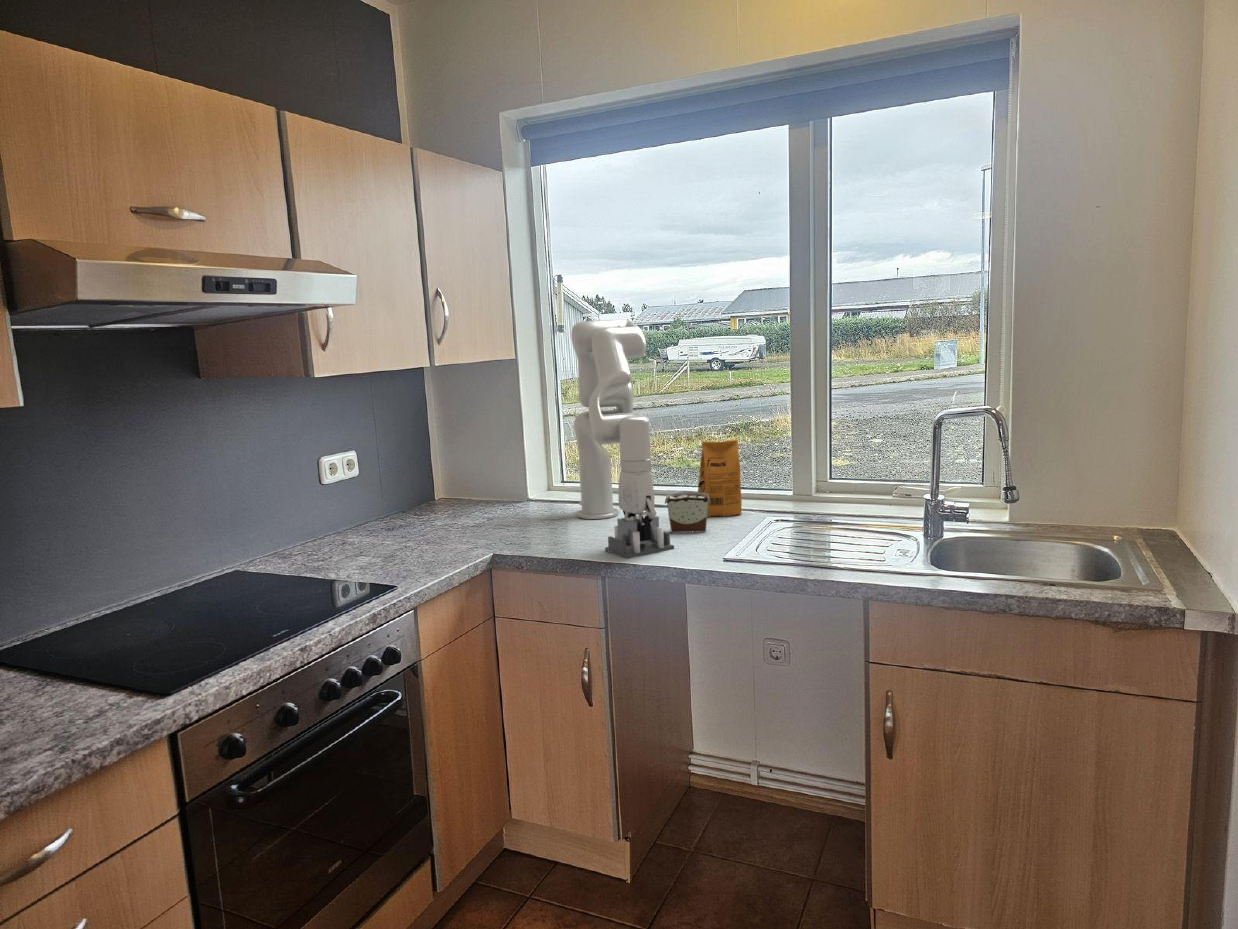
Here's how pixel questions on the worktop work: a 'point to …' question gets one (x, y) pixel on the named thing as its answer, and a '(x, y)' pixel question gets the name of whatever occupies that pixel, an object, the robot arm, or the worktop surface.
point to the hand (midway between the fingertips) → (638, 537)
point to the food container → (687, 511)
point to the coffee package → (721, 477)
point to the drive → (635, 529)
